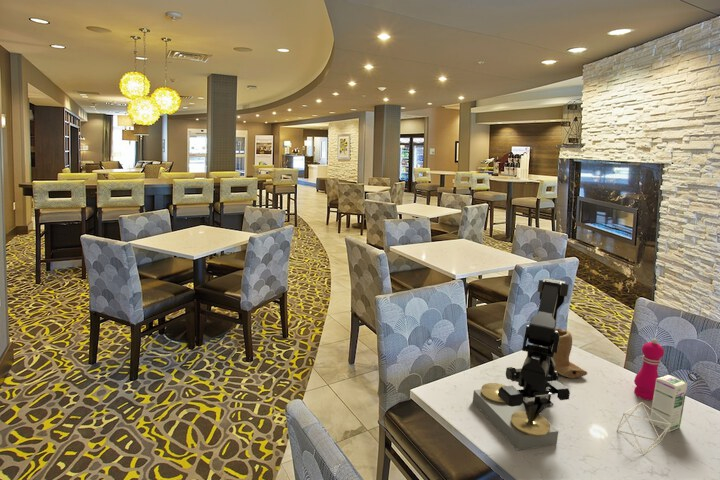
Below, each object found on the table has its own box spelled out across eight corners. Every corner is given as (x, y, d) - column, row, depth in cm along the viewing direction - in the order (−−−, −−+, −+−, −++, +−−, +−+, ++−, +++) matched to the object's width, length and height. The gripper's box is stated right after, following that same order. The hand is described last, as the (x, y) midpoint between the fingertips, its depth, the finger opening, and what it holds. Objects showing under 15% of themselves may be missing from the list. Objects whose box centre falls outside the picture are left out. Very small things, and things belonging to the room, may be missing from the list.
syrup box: (668, 433, 131) (677, 386, 128) (647, 422, 136) (656, 377, 133) (680, 428, 134) (689, 382, 131) (659, 417, 139) (667, 373, 136)
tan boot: (531, 362, 172) (536, 325, 169) (557, 359, 176) (562, 322, 173) (559, 382, 158) (565, 341, 155) (587, 378, 162) (593, 338, 159)
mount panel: (506, 397, 147) (507, 386, 146) (556, 444, 124) (558, 431, 123) (472, 401, 143) (473, 390, 143) (517, 450, 121) (519, 436, 120)
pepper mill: (661, 402, 147) (672, 344, 143) (637, 399, 149) (647, 341, 145) (652, 391, 154) (662, 335, 150) (629, 388, 156) (638, 333, 152)
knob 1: (502, 395, 147) (503, 381, 146) (520, 412, 138) (522, 398, 137) (474, 398, 144) (475, 384, 144) (491, 416, 135) (492, 401, 134)
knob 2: (532, 423, 132) (534, 409, 131) (556, 445, 123) (558, 429, 122) (502, 428, 129) (504, 413, 128) (523, 450, 120) (525, 434, 119)
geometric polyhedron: (667, 461, 119) (673, 430, 117) (619, 449, 123) (625, 418, 121) (659, 435, 130) (664, 406, 128) (615, 425, 134) (620, 396, 133)
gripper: (547, 352, 132) (540, 401, 135) (489, 358, 127) (484, 409, 130) (574, 370, 122) (567, 423, 125) (513, 377, 117) (506, 432, 120)
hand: (530, 421), depth 125 cm, fingers closed, pressing on knob 2
